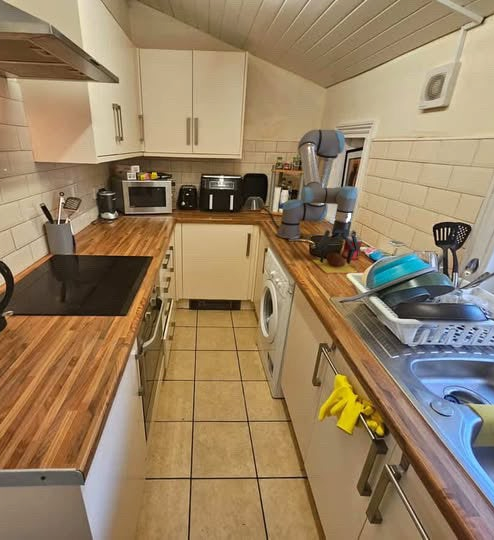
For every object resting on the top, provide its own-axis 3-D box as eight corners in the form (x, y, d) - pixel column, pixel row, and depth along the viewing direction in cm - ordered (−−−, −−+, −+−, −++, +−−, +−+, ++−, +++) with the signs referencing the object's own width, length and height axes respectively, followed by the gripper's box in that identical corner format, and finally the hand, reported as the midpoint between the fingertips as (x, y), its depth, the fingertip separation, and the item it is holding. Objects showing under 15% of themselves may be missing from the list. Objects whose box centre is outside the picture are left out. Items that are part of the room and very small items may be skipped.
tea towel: (312, 260, 158) (312, 259, 157) (341, 260, 159) (341, 259, 159) (325, 272, 143) (325, 272, 143) (357, 272, 144) (357, 271, 144)
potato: (339, 270, 145) (341, 258, 142) (320, 262, 154) (323, 250, 151) (347, 268, 148) (350, 256, 145) (329, 260, 157) (331, 249, 154)
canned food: (359, 260, 159) (363, 240, 155) (343, 259, 161) (347, 239, 156) (356, 255, 166) (360, 236, 162) (340, 254, 168) (344, 235, 163)
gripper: (318, 221, 139) (311, 264, 147) (372, 223, 138) (362, 266, 146) (314, 217, 146) (308, 258, 154) (366, 219, 145) (356, 260, 153)
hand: (334, 262), depth 150 cm, fingers open, 12 cm apart
